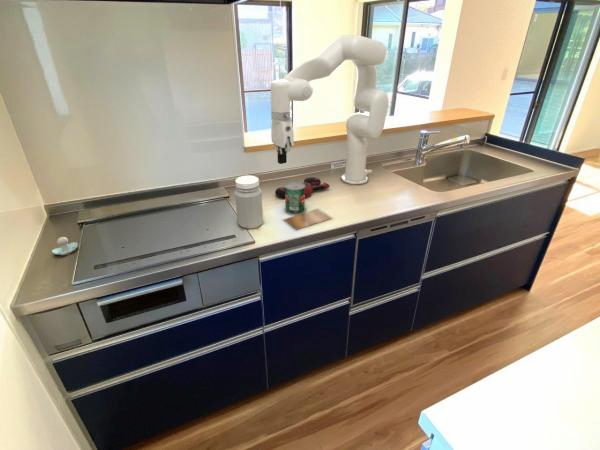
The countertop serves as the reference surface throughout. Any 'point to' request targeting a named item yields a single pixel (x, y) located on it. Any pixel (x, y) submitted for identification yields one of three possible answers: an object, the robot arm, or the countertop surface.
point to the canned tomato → (295, 198)
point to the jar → (248, 202)
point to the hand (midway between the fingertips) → (282, 162)
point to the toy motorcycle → (310, 186)
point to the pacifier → (64, 247)
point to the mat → (306, 219)
